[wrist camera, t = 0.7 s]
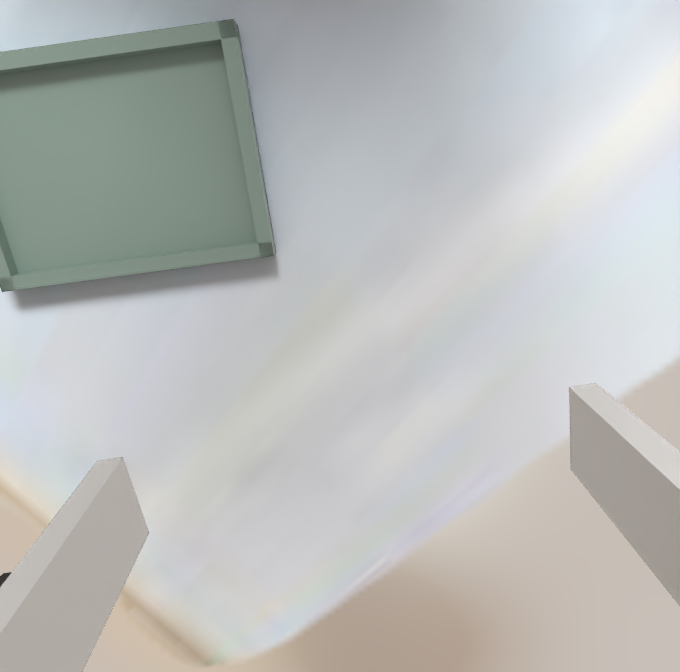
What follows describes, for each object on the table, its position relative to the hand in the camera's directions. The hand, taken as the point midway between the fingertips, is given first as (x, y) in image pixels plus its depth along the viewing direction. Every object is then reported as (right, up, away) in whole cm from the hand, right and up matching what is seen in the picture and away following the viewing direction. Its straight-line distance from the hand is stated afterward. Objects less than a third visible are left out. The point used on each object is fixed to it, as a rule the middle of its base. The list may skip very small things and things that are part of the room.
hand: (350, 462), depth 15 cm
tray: (-16, +16, +21) cm, 31 cm away
